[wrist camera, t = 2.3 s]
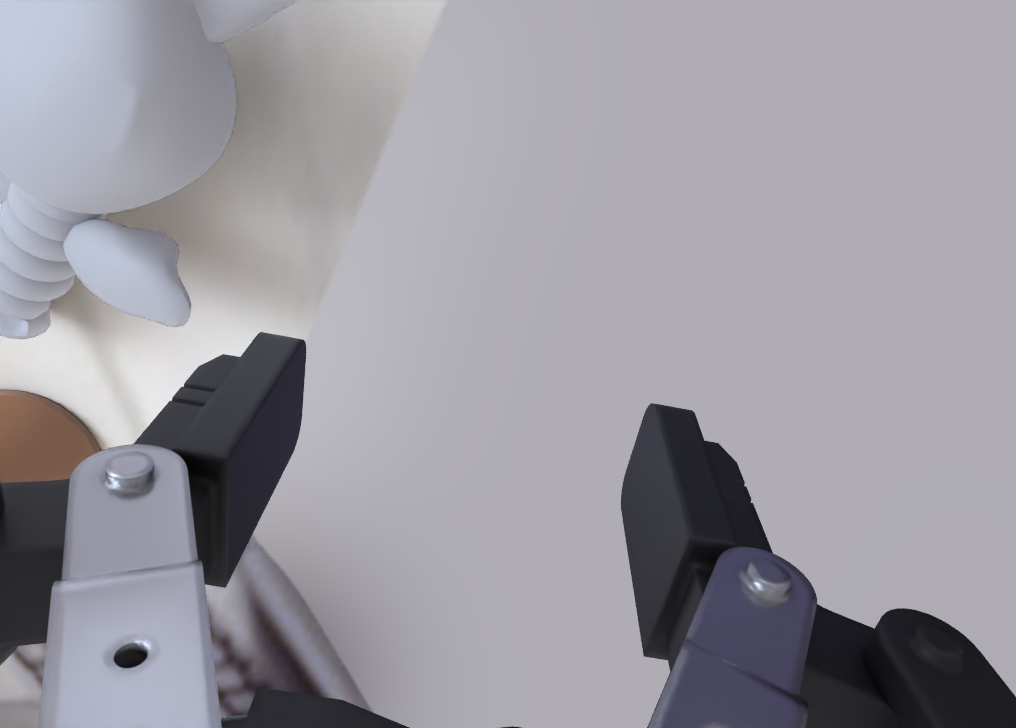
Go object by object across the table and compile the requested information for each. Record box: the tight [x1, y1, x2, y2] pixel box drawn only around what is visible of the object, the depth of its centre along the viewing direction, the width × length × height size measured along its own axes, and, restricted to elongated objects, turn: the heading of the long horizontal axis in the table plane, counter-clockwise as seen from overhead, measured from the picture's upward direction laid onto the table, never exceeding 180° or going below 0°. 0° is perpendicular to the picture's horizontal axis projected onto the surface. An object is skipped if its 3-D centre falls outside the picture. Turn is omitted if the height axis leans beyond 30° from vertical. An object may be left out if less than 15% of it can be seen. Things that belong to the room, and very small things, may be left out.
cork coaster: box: [0, 390, 101, 483], centre depth 36 cm, size 7×7×1 cm
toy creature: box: [0, 0, 297, 339], centre depth 25 cm, size 13×7×20 cm
